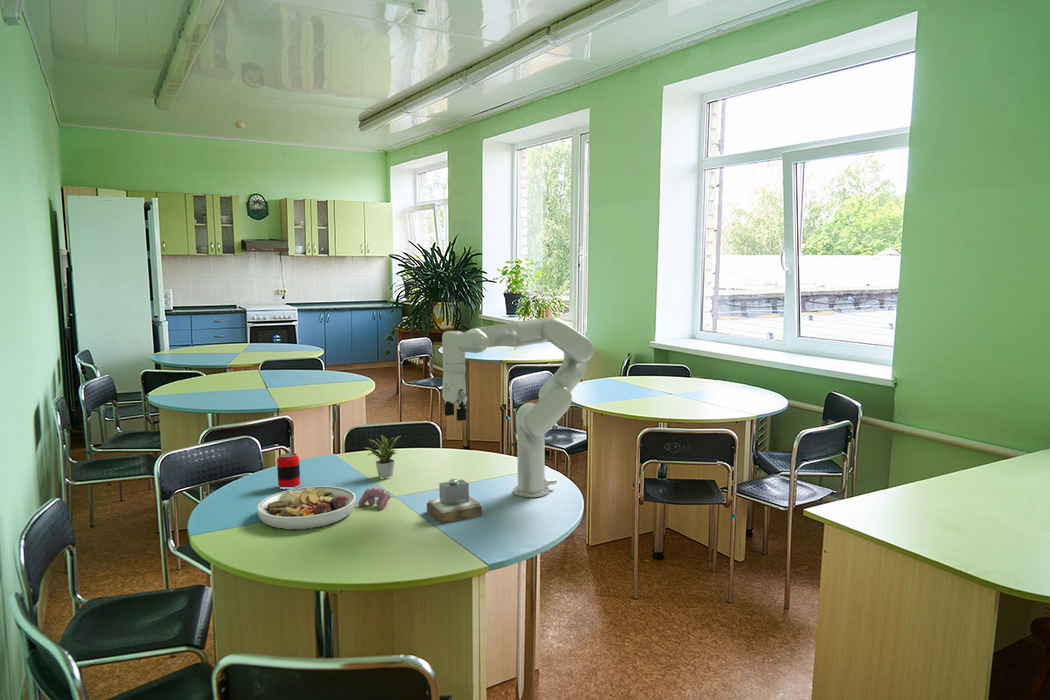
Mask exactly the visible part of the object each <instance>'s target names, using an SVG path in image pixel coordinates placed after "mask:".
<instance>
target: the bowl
mask: <svg viewBox="0 0 1050 700" xmlns="http://www.w3.org/2000/svg"><path fill="white" fill-rule="evenodd" d="M356 498H357V497H356V494H355V493H354V492H353V491H351V490H349V489H346V488H343V487H339V486H338V487H337V486H327V485H326V486H324V485H323V486H313V485H312V486H305V487H299V488H297V489H292V490H282V491H281V492H277V493H274V494H272V495H269V496H267V497H265V498H264V499H262V500H261V501H260V502H259V503H258V504H257V507H256V509H257V515H258V517H259V519H260V520H261V521H262V522H263V523H264V524H265V525H267V526H269V525H270V526H269V527H272V528H275V527H276V528H277V529H280V528H283V529H282V530H293V529H295V530H308V529H307V528H309V529H314V527H316V528H319V527H320V526H321V527H325V526H328V524H329V525H332V524H334V523H336V522H339V521H341V520H343V519H345V518H346V517H348V516H349V515H350V514H351V513H352V511H353V510H354V509H355V506H356V502H357V499H356ZM331 523H332V524H331Z"/></svg>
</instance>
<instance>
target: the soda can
mask: <svg viewBox="0 0 1050 700" xmlns="http://www.w3.org/2000/svg"><path fill="white" fill-rule="evenodd" d="M276 466H277V467H276V469H277V470H276V471H277V486H278V485H279V486H280V487H295V486H298V485H299V484H300V485H301V473H300V471H301V470H300V468H301V467H300V457H299V456H298V455H297V454H296V452H295V453H292V452H287V453H286V452H285V453H282V454H279V456H278V457H277V459H276Z"/></svg>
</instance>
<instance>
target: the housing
mask: <svg viewBox="0 0 1050 700" xmlns="http://www.w3.org/2000/svg"><path fill="white" fill-rule="evenodd" d="M438 485H439V489H438V490H439V498H440V502H441V503H442V504H444V505H445V506H449V505H454V504H459V503H465V502H469V496H470V492H469V491H470V490H469V488H470V487H469V483H468V482H467V481H466V480H464V479H457V478H452V479H451V478H450V480H449V481H445V482H440V483H439V484H438Z"/></svg>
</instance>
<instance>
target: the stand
mask: <svg viewBox="0 0 1050 700" xmlns="http://www.w3.org/2000/svg"><path fill="white" fill-rule="evenodd" d="M426 513H427V514H429V515H430V516H431V515H432V516H433V517H432V516H431V517H432V518H434V519H435V520H436V521H437V520H438V521H439V522H438V521H437V522H438V523H440V524H441V523H442V524H445V522H447V523H451V522H450V521H452V522H456V520H457V521H460V520H461V521H462V520H467V519H470V518H471V519H472V518H476V517H481V515H482V516H483V507H482V505H481V503H480V502H479V501H478V500H477V499H474V498H473V497H472V496H471V495H469V502H465V503H459V504H454V505H449V506H445V505H444V504H442V503H441V502H440V497H438V498H433V499H428V502H426Z"/></svg>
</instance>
